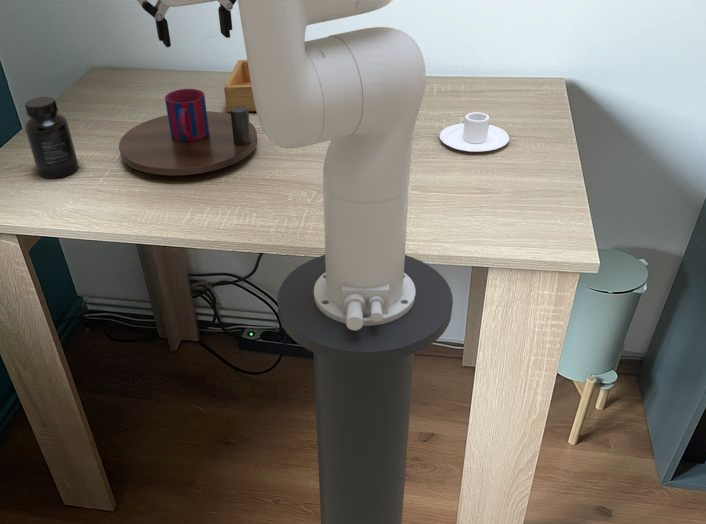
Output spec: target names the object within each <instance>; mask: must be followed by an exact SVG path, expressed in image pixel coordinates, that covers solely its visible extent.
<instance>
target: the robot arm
mask: <svg viewBox="0 0 706 524" xmlns="http://www.w3.org/2000/svg"><path fill="white" fill-rule="evenodd" d="M136 1H137V2H138V3H139V5H140V6H141V8H142V9H143V10H144V11H145V12H146V13H148V14H149V15H150V16H151V17H152V18H154V20H155V25H156V32H157V38H158V41H159V42H162V44H163V45H164V46H165V48H170V47H171V46H172V44H171V37H170V29H169V23H168V20H167V19H166V18H165V16H166V14H167V12H168V10H169V8H177V7H178V8H179V7H185V6H192V5H199V4H206V3H212V2H218V3H219V7H218V8H217V11H218V20H219V29H220V33H221V35H223V37H224V38H226V39H230V38H231V32H230V31H233V21H232V20H233V19H232V10H233V9H234V5H235V4H236V2H237V4H238V5H237V6H238V11H239V17H240V24H241V29H242V30H241V31H242V35H243V36H242V37H243V43H244V49H245V55H246V60H247V61H248V67H249V74H250V80H251V86H252V92H253V98H254V103H255V107H256V111H255V112H256V116H257V118H258V121H259V124H260V126H261V130H262V131H263V133H264V134H265V136H266V137H267V139H268V140H269V141H270V142H271V143H272V144H274V145H275V146H277V147H279V148H282V149H291V150H293V149H298V148H304V147H308V146H314V145H317V144H321V143H325V142H329V145H328V147H327V150H326V153H325V157H324V162H323V168H322V169H323V170H322V187H323V188H322V189H323V226H324V227H323V228H324V229H323V230H324V255H325V268H326V272H325V273H324V274H323V275H321V276H320V277H319V279H318V280H317V281H316V284H315V286H314V301H315V303H316V306H317V307H318V308H319V310H320V311H321V312H322V313H324V314H325V315H326V316H328V317H329V318H331V319H333V320H335V321H338V322H341V323H344V324H346V325H347V327H348V328H349V329H351V330H359V329H360V328H362V326H375V325H381V324H385V323H389V322H392V321H394V320H396V319H398V318H400V317H402V316H403V315H405V314H406V313H407V312H408V311H409V310H410V309H411V308H412V306H413V304H414V301H415V292H416V289H415V285H414V283H413V281H412V280H411V278H410V277H409V276H408V275H406V274H405V273H404V262H405V255H406V242H407V227H408V226H407V222H408V205H409V187H410V178H411V177H410V175H411V163H412V161H411V160H412V152H413V151H412V150H413V142H414V135H415V131H416V127H417V123H418V119H419V118H418V117H419V114H420V111H421V107H422V102H423V98H424V93H425V88H426V79H427V77H426V76H427V75H426V73H427V72H426V63H425V59H424V55H423V52H422V50H421V48H420V47H419V45H418V43H417V42H416V40H415V39H414V38H413V37H412V36H411V35H409V34H408V33H406V32H405V31H403V30H400V29H398V28H394V27H387V26H375V27H365V28H359V29H354V30H350V31H346V32H340V33H337V34H335V33H334V34H331V35H328V36H324V37H320V38H315V39H310V40H306V31H307V27H308V26H310V25H316V24H321V23H327V22H330V21H334V20H335V21H336V20H339V19H344V18H345V19H346V18H350V17H354V16H359V15H363V14H367V13H371V12H375V11H378V10H380V9H382V8H384V7H386V6H388V5H389V4H391V3H392V2H393V0H156V2H155V4H154V5H153V4H152V3H151V2H149V0H136Z"/></svg>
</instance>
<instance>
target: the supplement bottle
mask: <svg viewBox="0 0 706 524" xmlns="http://www.w3.org/2000/svg"><path fill="white" fill-rule="evenodd" d="M24 108H25V111H26V116H27V117H28V118H27V119H26V121H25V123H24V130H25V134H26V138H27V140H28V143H29V146H30V150H31V153H32V156H33V160H34V163H35V166H36V170H37V173H38V174H39V175H40V176H42V177H43V178H47V179H60V178H64V177H67V176H70V175H72V174H74V173H75V172H77V170H78V168H79V162H78V157H77V153H76V150H75V146H74V141H73V138H72V135H71V130H70V127H69V123H68V119H67V117H65V115H64V114H62V113H60V112H59V107H58V105H57V101H56V99H55V98H54V97H52V96H46V95H45V96H37V97H32V98H30V99H28V100H26V102H25V103H24Z"/></svg>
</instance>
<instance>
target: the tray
mask: <svg viewBox="0 0 706 524" xmlns="http://www.w3.org/2000/svg"><path fill="white" fill-rule="evenodd" d="M223 90H224V99H225V105H226V111H227V113H230V109H231V108H232V107H234V106H240V105H241V106H246V107H248V112H256V107H255V103H254V98H253V92H252V86H251V80H250V74H249V67H248V61H247V59H238V60H237V62H236V63H235V65H234V68H233V70H232V71H231V72H230V75H229V77H228V79H227V81H226V82H225V85H224V86H223Z"/></svg>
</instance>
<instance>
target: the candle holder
mask: <svg viewBox="0 0 706 524" xmlns="http://www.w3.org/2000/svg"><path fill="white" fill-rule="evenodd" d="M439 139H440V141H441V142H442V143H443V144H444V145H446V146H448V147H450V148H453V149H455V150H459V151H464V152H471V153H472V152H473V153H475V152H476V153H477V152H480V153H481V152H489V151H490V152H491V151H494V150H495V151H496V150H498V149H500V148H503V147H504V146H506V145H507V144H508V143H509V141H510V135H509V134H508V133H507V131H505V130H504V129H503V128H501V127H498V126H496V125H492V124H490V115H489V114H487V113H484V112H478V111H473V112H469V113H467V114H466V115H465V116H464V122H462V123H456V124H455V123H454V124H452V125H448V126H447V127H445V128H443V129H442V130H441V131H440V132H439Z"/></svg>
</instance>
